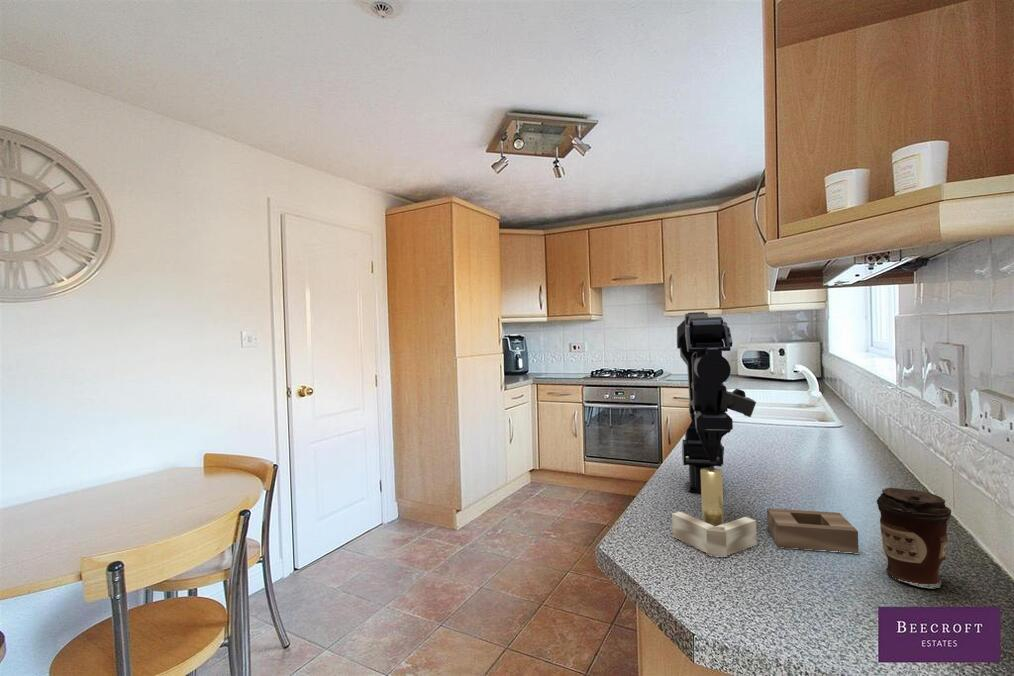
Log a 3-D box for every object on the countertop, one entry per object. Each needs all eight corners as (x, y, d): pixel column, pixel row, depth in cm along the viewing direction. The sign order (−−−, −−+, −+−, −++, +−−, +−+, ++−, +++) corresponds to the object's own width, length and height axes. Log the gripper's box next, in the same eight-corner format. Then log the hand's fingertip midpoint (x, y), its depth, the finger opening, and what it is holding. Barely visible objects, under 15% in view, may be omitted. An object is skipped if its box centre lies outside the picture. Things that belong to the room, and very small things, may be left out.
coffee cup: (923, 599, 66) (920, 508, 66) (864, 571, 74) (861, 489, 74) (966, 588, 68) (964, 499, 68) (904, 561, 76) (902, 482, 76)
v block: (672, 534, 90) (671, 510, 90) (755, 542, 85) (754, 517, 85) (673, 552, 83) (672, 527, 83) (763, 562, 78) (762, 535, 78)
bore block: (767, 528, 90) (766, 508, 90) (840, 534, 87) (839, 512, 87) (778, 547, 83) (778, 525, 83) (858, 554, 79) (858, 531, 79)
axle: (709, 535, 89) (706, 466, 89) (728, 541, 86) (725, 470, 86) (699, 541, 87) (696, 470, 86) (718, 547, 84) (715, 474, 84)
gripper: (762, 384, 84) (765, 471, 85) (742, 373, 102) (744, 445, 102) (695, 384, 87) (698, 468, 88) (687, 374, 105) (689, 443, 106)
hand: (709, 455), depth 96 cm, fingers open, 9 cm apart
